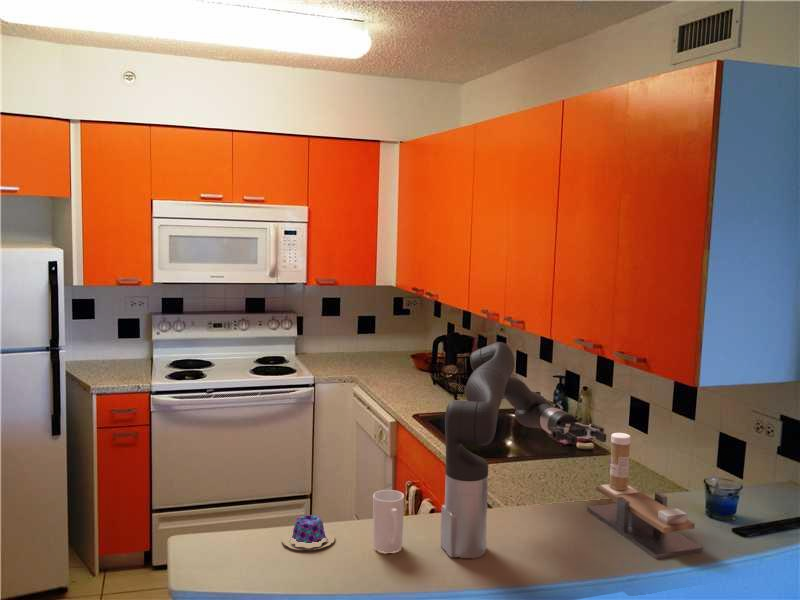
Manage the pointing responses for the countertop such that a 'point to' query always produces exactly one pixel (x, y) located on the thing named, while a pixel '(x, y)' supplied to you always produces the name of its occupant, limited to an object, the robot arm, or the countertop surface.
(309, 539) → the pudding
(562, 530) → the countertop surface
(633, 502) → the balance beam
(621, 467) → the sprinkles bottle
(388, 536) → the mug
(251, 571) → the countertop surface
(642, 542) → the stand
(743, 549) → the countertop surface
